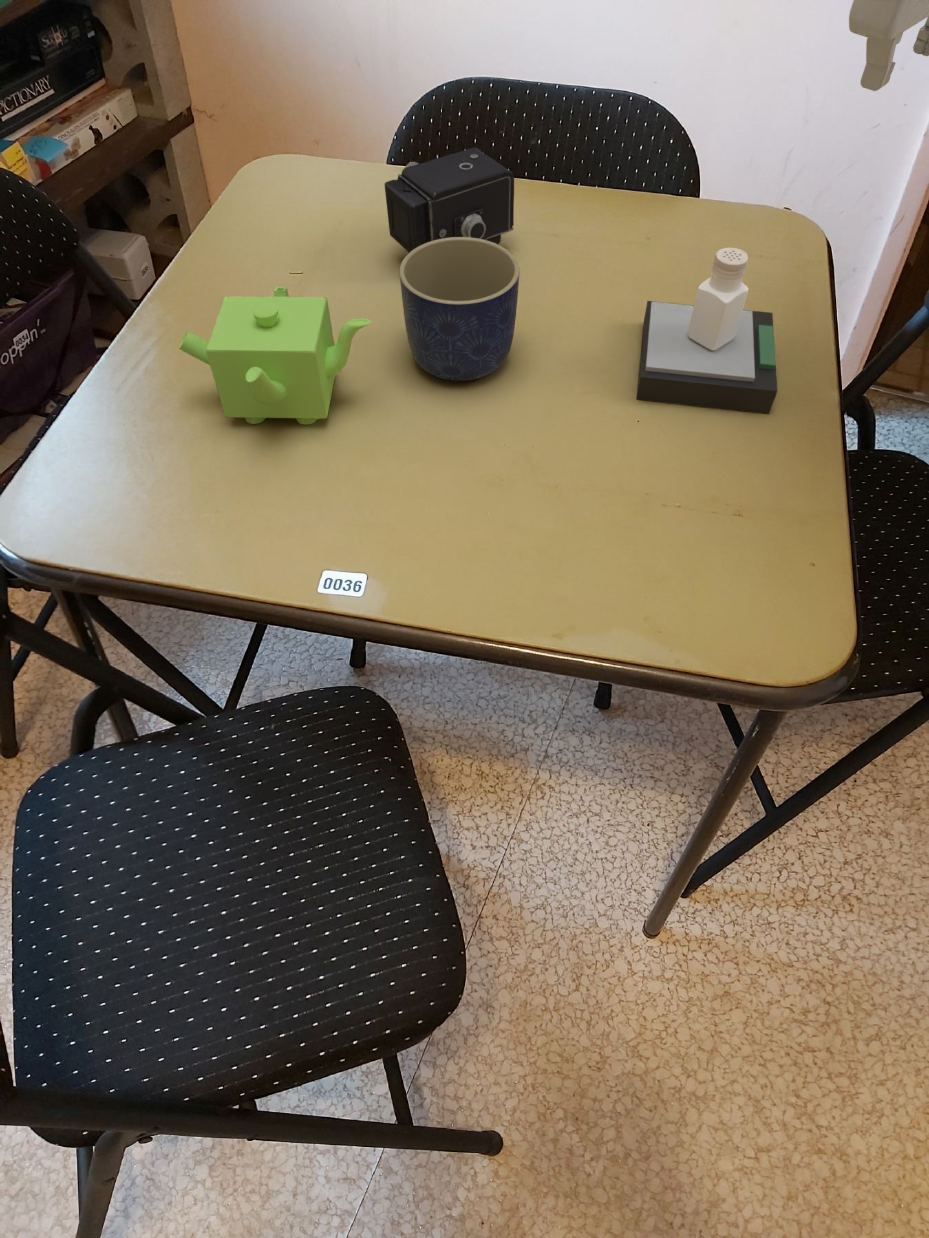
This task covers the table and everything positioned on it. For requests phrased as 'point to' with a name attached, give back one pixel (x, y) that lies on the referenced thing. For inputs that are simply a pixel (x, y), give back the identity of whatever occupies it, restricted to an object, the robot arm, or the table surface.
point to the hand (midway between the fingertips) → (899, 69)
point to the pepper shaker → (720, 300)
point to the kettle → (274, 356)
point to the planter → (459, 306)
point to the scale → (707, 362)
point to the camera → (451, 200)
